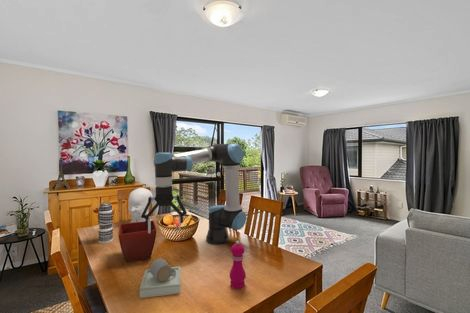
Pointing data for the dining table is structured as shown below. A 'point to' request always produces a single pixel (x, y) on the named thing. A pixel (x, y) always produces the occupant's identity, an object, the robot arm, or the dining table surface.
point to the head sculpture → (138, 204)
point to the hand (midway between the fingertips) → (164, 231)
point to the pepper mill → (237, 267)
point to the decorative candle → (105, 223)
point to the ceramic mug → (161, 270)
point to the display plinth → (159, 285)
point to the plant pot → (137, 240)
